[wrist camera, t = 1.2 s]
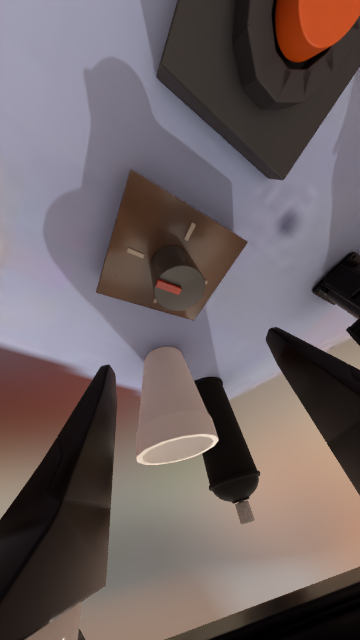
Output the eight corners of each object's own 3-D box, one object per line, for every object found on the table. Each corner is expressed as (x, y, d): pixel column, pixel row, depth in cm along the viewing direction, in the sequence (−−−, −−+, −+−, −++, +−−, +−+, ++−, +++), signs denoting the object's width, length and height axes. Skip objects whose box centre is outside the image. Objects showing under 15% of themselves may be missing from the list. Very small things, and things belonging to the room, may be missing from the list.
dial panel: (234, 232, 19) (248, 242, 17) (188, 306, 24) (194, 321, 22) (130, 168, 14) (130, 169, 12) (99, 277, 19) (95, 293, 17)
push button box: (382, -2, 11) (471, -61, 8) (268, 178, 16) (298, 182, 13) (267, -320, 6) (383, -732, 3) (156, 77, 12) (164, 48, 9)
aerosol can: (179, 387, 37) (211, 535, 23) (216, 371, 36) (275, 516, 21) (194, 400, 43) (227, 526, 28) (226, 387, 42) (278, 511, 27)
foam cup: (122, 365, 29) (118, 465, 20) (160, 330, 26) (177, 430, 16) (166, 380, 35) (179, 464, 25) (201, 353, 31) (233, 438, 22)
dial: (200, 256, 17) (216, 279, 13) (180, 291, 19) (190, 318, 15) (160, 237, 15) (168, 257, 12) (143, 278, 17) (146, 305, 14)
